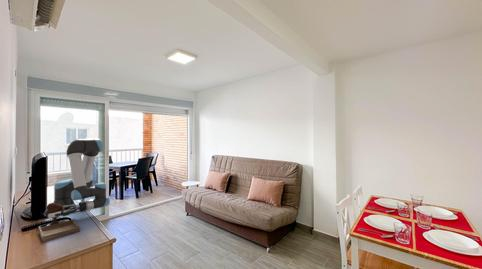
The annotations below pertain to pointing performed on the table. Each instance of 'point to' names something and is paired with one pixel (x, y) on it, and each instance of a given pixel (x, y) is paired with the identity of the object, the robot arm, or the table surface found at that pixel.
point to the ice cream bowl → (53, 211)
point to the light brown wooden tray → (58, 230)
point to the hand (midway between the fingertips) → (47, 214)
